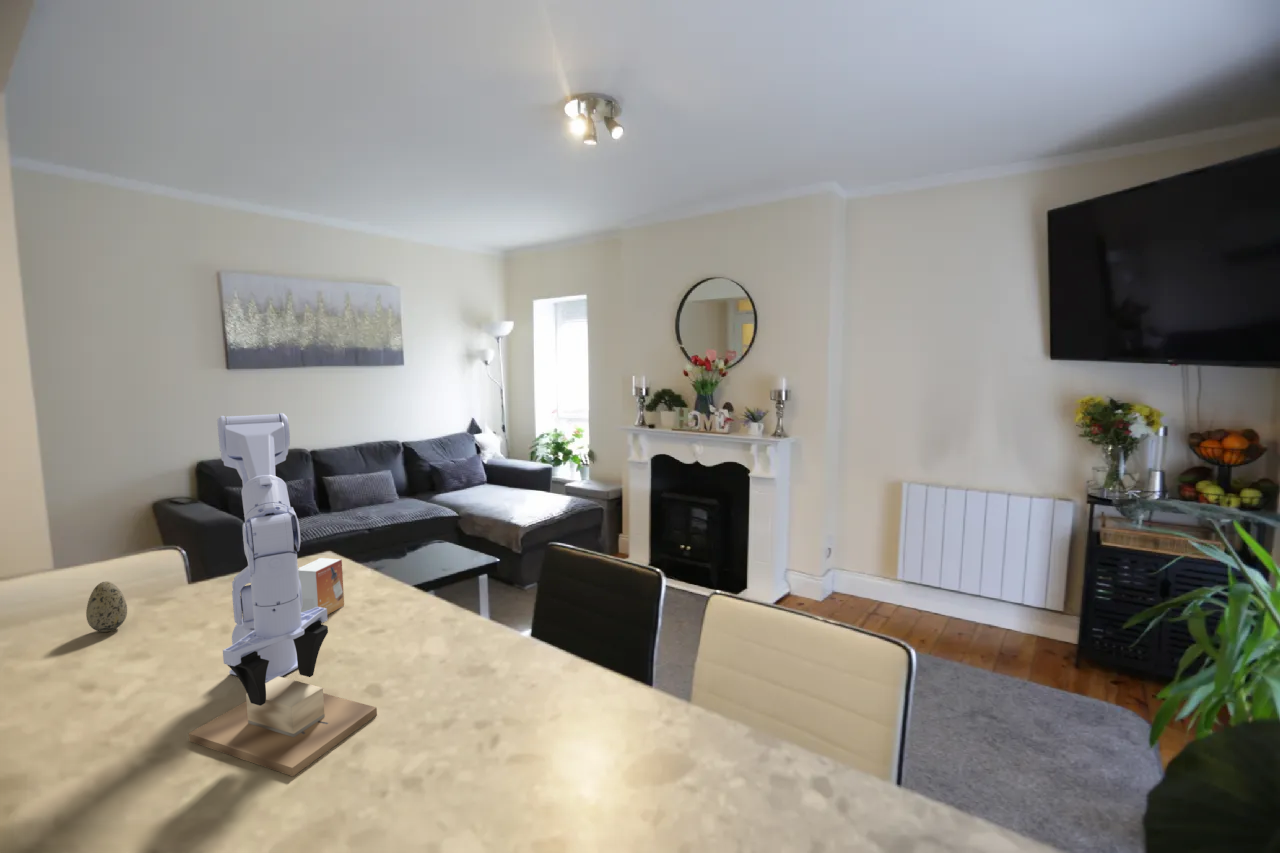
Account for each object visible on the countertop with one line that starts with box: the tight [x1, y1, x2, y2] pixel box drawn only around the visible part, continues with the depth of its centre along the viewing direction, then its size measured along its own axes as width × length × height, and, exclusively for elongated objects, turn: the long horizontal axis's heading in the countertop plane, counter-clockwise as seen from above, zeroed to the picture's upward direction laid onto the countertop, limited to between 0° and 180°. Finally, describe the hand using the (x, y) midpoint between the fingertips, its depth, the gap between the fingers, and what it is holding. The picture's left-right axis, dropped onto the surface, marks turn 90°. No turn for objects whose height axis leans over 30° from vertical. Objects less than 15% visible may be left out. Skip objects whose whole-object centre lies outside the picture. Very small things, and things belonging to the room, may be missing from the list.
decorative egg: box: [85, 581, 128, 633], centre depth 115 cm, size 6×6×10 cm
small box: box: [298, 557, 345, 616], centre depth 124 cm, size 8×6×10 cm
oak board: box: [188, 692, 378, 777], centre depth 85 cm, size 20×14×1 cm
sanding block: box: [245, 676, 325, 737], centre depth 85 cm, size 9×5×4 cm, turn 69°
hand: (283, 688), depth 85 cm, fingers open, 7 cm apart
